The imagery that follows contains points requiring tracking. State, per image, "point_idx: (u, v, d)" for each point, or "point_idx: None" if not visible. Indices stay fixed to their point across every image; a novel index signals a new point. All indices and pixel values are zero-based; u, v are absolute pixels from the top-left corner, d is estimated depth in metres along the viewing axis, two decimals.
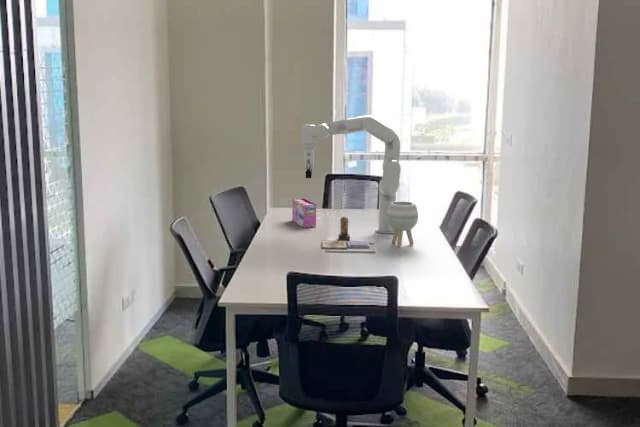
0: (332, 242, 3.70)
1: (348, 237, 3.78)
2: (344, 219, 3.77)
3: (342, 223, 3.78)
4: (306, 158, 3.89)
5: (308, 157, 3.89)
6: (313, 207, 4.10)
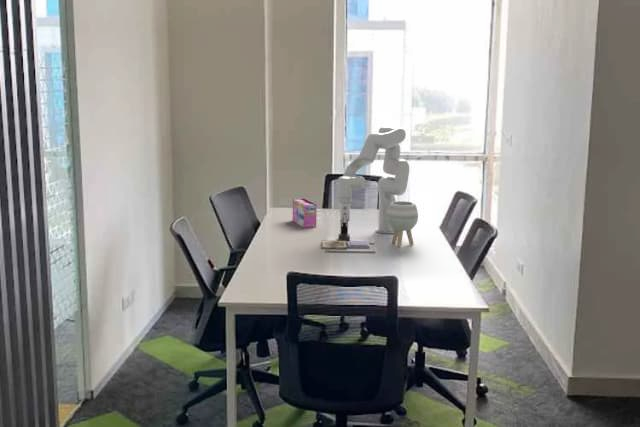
0: (332, 242, 3.70)
1: (348, 237, 3.78)
2: None
3: None
4: (342, 212, 3.74)
5: (344, 211, 3.73)
6: (313, 208, 4.09)
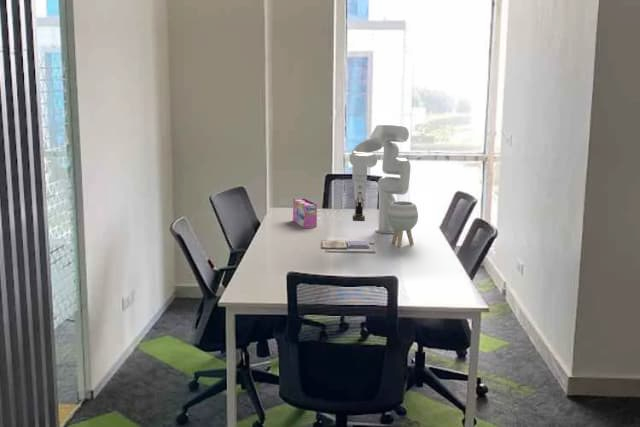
0: (332, 242, 3.70)
1: (363, 217, 3.61)
2: None
3: None
4: (357, 191, 3.56)
5: (359, 190, 3.56)
6: (314, 208, 4.09)
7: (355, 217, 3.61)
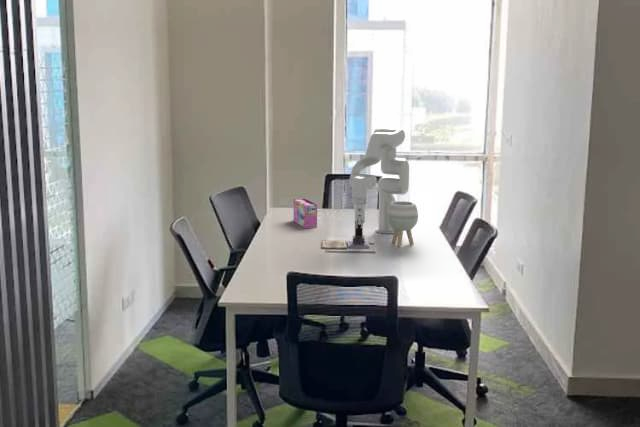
0: (332, 242, 3.70)
1: (363, 239, 3.63)
2: None
3: None
4: (357, 213, 3.59)
5: (359, 212, 3.58)
6: (314, 208, 4.09)
7: (355, 239, 3.63)
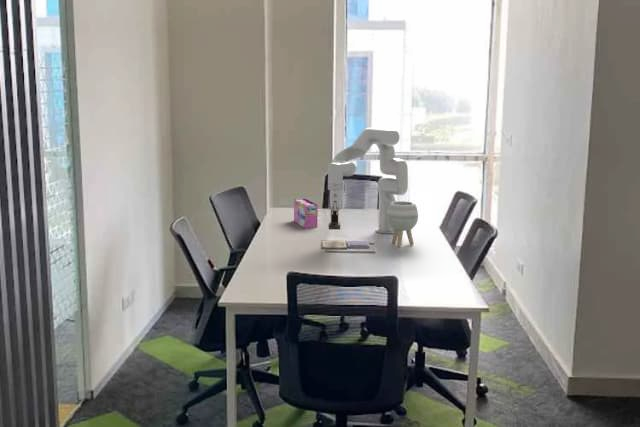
0: (332, 242, 3.70)
1: (338, 226, 3.61)
2: None
3: None
4: (332, 199, 3.57)
5: (334, 198, 3.57)
6: (314, 208, 4.09)
7: (331, 225, 3.61)
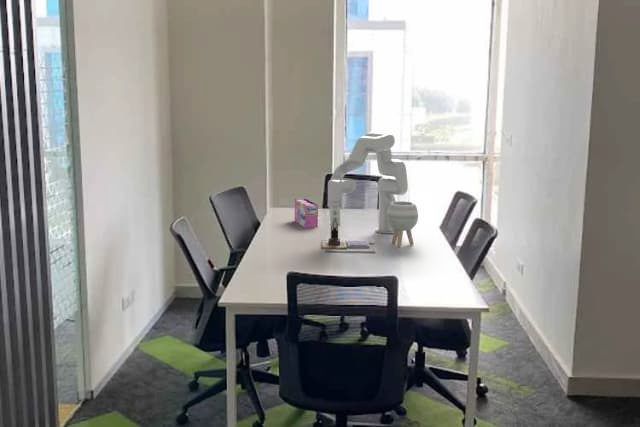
0: None
1: (338, 242, 3.63)
2: None
3: None
4: (332, 217, 3.59)
5: (334, 216, 3.59)
6: (315, 208, 4.08)
7: (330, 241, 3.63)
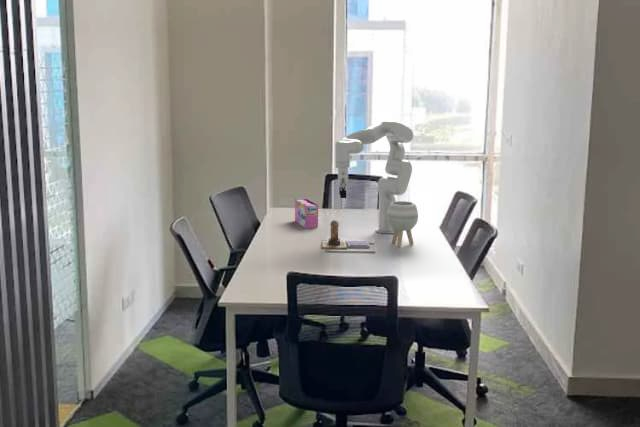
0: None
1: (338, 242, 3.63)
2: (334, 223, 3.62)
3: (332, 227, 3.63)
4: (340, 177, 3.66)
5: (342, 176, 3.66)
6: (315, 208, 4.08)
7: (330, 241, 3.63)
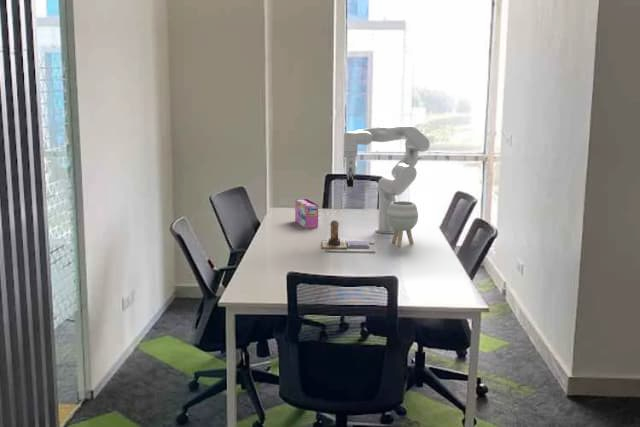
0: None
1: (338, 242, 3.63)
2: (334, 223, 3.62)
3: (332, 227, 3.63)
4: (348, 166, 3.78)
5: (350, 165, 3.78)
6: (315, 208, 4.08)
7: (330, 241, 3.63)
